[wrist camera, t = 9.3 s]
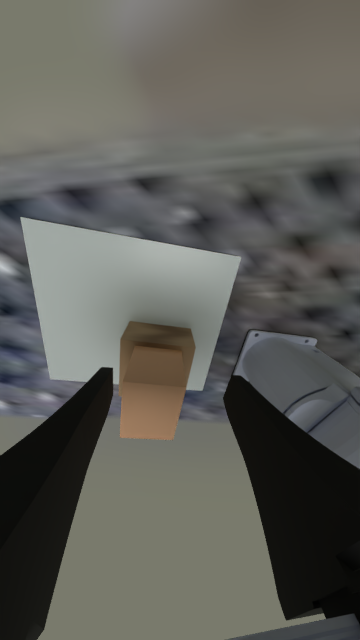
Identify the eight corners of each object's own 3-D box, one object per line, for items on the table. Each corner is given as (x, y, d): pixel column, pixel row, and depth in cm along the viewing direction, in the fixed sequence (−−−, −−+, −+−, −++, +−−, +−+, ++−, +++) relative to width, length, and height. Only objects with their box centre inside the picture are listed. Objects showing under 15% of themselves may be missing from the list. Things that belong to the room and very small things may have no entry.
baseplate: (238, 256, 17) (241, 257, 17) (201, 386, 24) (202, 390, 24) (27, 218, 15) (20, 217, 14) (54, 374, 22) (50, 379, 21)
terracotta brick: (181, 350, 16) (186, 387, 12) (172, 396, 18) (173, 439, 14) (134, 345, 15) (122, 381, 11) (131, 393, 18) (119, 437, 14)
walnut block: (190, 328, 20) (195, 347, 16) (180, 374, 22) (183, 400, 19) (129, 321, 19) (120, 339, 15) (127, 370, 21) (118, 395, 18)
